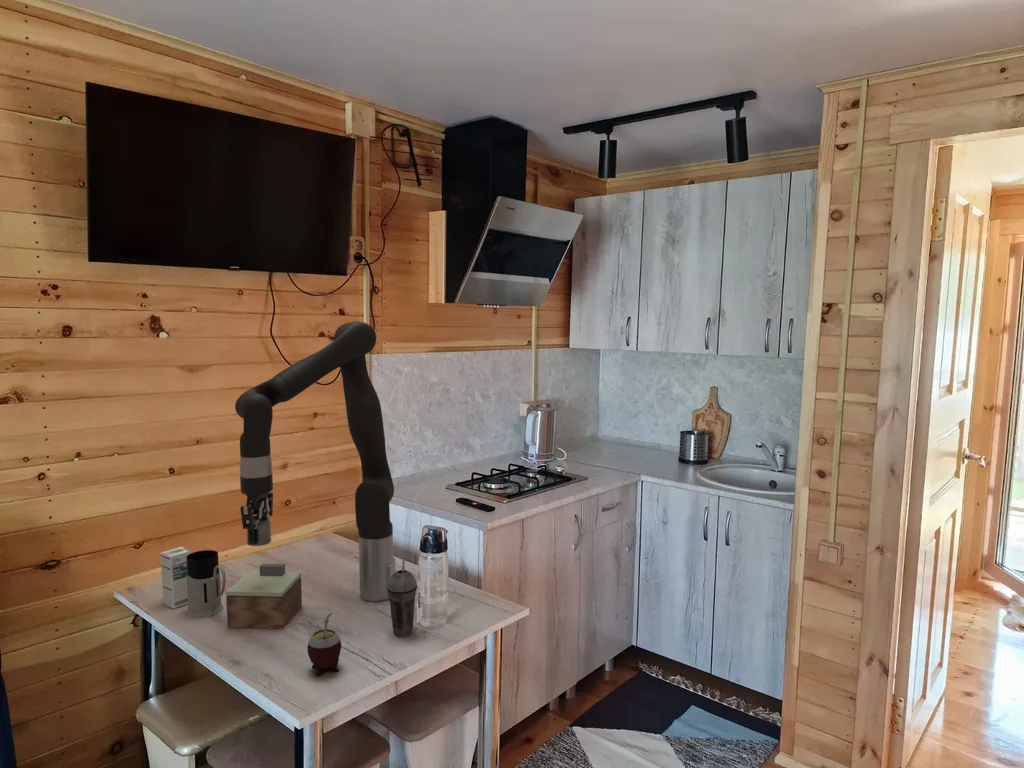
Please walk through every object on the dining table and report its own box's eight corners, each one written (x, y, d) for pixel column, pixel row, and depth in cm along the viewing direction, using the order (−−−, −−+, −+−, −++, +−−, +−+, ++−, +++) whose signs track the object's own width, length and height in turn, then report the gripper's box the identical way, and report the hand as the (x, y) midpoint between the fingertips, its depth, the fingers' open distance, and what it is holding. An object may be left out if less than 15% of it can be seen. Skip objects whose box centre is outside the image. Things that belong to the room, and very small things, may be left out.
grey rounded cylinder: (253, 538, 173) (252, 519, 172) (274, 538, 172) (273, 519, 172) (243, 545, 167) (242, 526, 167) (265, 546, 167) (264, 526, 166)
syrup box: (173, 609, 179) (170, 556, 177) (162, 603, 182) (159, 551, 181) (194, 602, 183) (192, 550, 182) (183, 596, 187) (180, 545, 185)
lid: (300, 576, 180) (300, 563, 179) (281, 596, 167) (281, 582, 166) (249, 575, 180) (248, 562, 180) (226, 595, 167) (225, 581, 167)
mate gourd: (320, 659, 153) (318, 595, 151) (351, 664, 151) (349, 599, 149) (300, 676, 146) (298, 609, 144) (333, 681, 144) (330, 613, 142)
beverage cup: (381, 636, 163) (380, 556, 161) (398, 624, 170) (396, 546, 168) (408, 642, 161) (406, 560, 159) (423, 629, 167) (422, 550, 165)
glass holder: (211, 600, 184) (208, 547, 183) (242, 614, 176) (239, 557, 174) (179, 612, 177) (177, 556, 176) (210, 626, 169) (207, 568, 167)
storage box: (302, 606, 180) (301, 577, 180) (282, 629, 168) (281, 597, 167) (250, 605, 181) (249, 576, 180) (227, 627, 168) (226, 596, 168)
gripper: (258, 480, 161) (261, 549, 162) (282, 466, 175) (284, 530, 177) (227, 480, 161) (230, 549, 163) (253, 466, 175) (256, 530, 177)
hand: (258, 539), depth 170 cm, fingers closed on grey rounded cylinder, 5 cm apart
